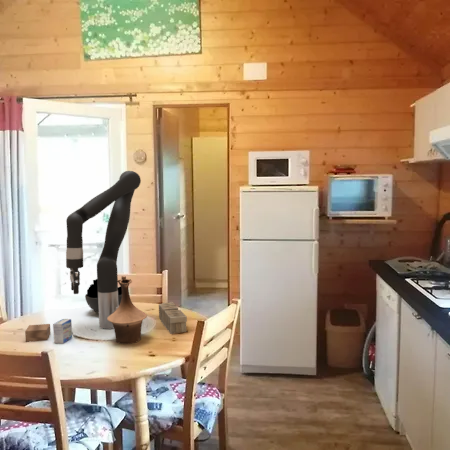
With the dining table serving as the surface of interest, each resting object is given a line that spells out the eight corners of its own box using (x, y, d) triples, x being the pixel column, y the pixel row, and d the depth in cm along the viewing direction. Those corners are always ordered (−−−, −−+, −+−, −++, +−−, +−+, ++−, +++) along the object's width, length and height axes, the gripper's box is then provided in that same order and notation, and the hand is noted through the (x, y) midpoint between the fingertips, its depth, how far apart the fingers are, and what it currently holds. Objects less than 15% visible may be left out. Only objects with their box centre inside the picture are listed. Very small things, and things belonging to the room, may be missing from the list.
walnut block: (50, 334, 223) (50, 323, 223) (47, 340, 215) (46, 329, 214) (29, 336, 222) (29, 325, 221) (25, 342, 213) (25, 331, 212)
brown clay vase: (105, 336, 218) (102, 274, 215) (143, 331, 224) (140, 271, 222) (111, 349, 202) (108, 282, 199) (152, 343, 208) (149, 278, 205)
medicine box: (63, 343, 210) (62, 324, 209) (53, 343, 211) (52, 323, 210) (72, 337, 217) (71, 318, 216) (63, 337, 218) (62, 318, 217)
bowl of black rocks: (117, 305, 271) (116, 272, 269) (130, 313, 254) (129, 278, 252) (81, 311, 260) (79, 276, 258) (92, 320, 243) (90, 283, 241)
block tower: (158, 319, 246) (170, 335, 218) (157, 303, 246) (169, 316, 218) (173, 318, 249) (187, 333, 221) (173, 301, 248) (186, 314, 220)
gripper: (85, 259, 219) (85, 294, 221) (81, 254, 232) (81, 288, 234) (67, 259, 216) (68, 295, 218) (64, 255, 229) (64, 289, 231)
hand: (74, 291), depth 226 cm, fingers open, 8 cm apart
